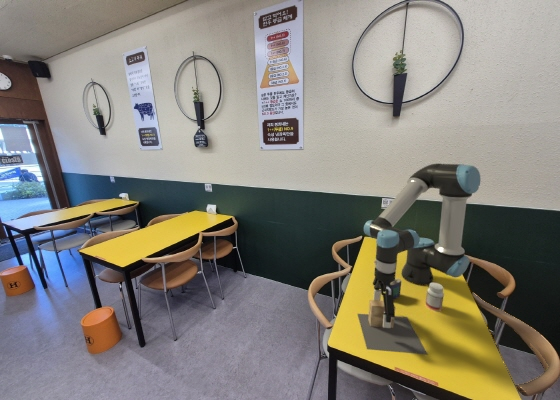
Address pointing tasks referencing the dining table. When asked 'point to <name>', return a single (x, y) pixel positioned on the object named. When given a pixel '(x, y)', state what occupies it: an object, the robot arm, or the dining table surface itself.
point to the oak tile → (377, 313)
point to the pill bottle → (434, 297)
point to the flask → (396, 288)
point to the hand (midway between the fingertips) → (381, 314)
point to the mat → (391, 336)
